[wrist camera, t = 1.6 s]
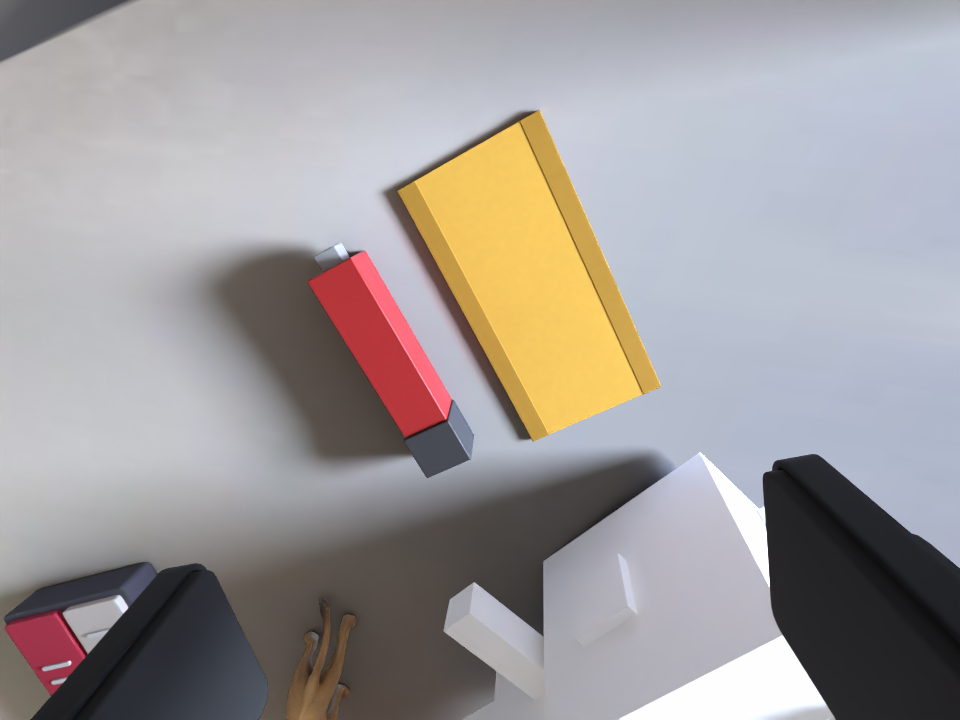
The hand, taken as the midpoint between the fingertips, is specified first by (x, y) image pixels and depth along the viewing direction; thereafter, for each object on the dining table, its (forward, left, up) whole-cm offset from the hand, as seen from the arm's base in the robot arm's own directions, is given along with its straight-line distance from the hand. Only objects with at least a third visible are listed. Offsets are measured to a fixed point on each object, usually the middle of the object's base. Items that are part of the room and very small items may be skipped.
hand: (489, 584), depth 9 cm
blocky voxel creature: (+4, +26, -24) cm, 36 cm away
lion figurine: (+27, +22, -24) cm, 42 cm away
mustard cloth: (-2, +1, -24) cm, 24 cm away
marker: (+8, +1, -24) cm, 25 cm away
